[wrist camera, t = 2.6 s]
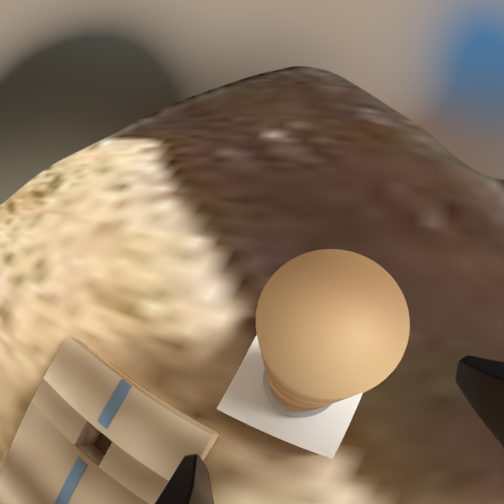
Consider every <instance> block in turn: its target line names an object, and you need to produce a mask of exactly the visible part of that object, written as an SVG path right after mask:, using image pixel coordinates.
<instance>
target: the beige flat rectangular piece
mask: <svg viewBox="0 0 504 504" xmlns="http://www.w3.org/2000/svg"><path fill="white" fill-rule="evenodd" d="M101 433H102V434H104V435H105V436H106V437H107V438H109V439H110V440H111V441H112V443H111V445H110V447H109V449H108V450H107V452H106V454H104V453H103V452H102V451H100V450H99V449H98V448H97V447H96V446H94V445H95V443H96V441H97V439H98V437H99V436H100V434H101ZM219 434H220V433H218V432H216V431H214V430H212V429H210V428H209V427H207V426H205V425H203V424H201V423H199V422H198V421H196V420H194V419H192V418H191V417H189V416H187V415H185V414H184V413H182V412H180V411H179V410H177V409H175V408H174V407H172V406H171V405H169V404H167V403H166V402H164V401H163V400H161V399H159V398H158V397H156V396H155V395H153V394H152V393H150V392H149V391H147V390H146V389H144V388H143V387H141V386H140V385H138V384H137V383H136V382H134V381H133V380H131V379H130V378H128V377H127V376H126V375H124V374H123V373H121V372H120V371H119V370H117V369H116V368H115V367H113V366H112V365H111V364H109V363H108V362H107V361H105V360H104V359H103V358H102V357H100V356H99V355H98V354H97V353H95V352H94V351H93V350H92V349H90V348H89V347H88V346H87V345H85V344H83V343H81V342H80V341H78V340H76V339H74V338H73V337H71V336H69V335H67V337H66V338H65V340H64V342H63V344H62V345H61V347H60V349H59V350H58V352H57V354H56V356H55V357H54V359H53V361H52V363H51V365H50V366H49V368H48V370H47V372H46V374H45V376H44V377H43V379H42V381H41V383H40V385H39V387H38V389H37V391H36V393H35V395H34V397H33V399H32V401H31V403H30V405H29V407H28V409H27V411H26V413H25V415H24V417H23V420H22V422H21V424H20V426H19V428H18V431H17V433H16V435H15V437H14V440H13V442H12V445H11V447H10V449H9V452H8V454H7V457H6V459H5V462H4V464H3V467H2V470H1V472H0V504H155V502H156V501H157V499H158V497H159V496H160V494H161V493H162V491H163V490H164V488H165V486H166V485H167V483H168V482H169V480H170V478H171V477H172V475H173V474H174V472H175V470H176V469H177V467H178V465H179V464H180V462H181V461H182V459H183V457H184V456H185V455H190V454H198V455H199V456H200V457H201V459H202V461H203V462H204V460H205V459H206V457H207V455H208V453H209V452H210V450H211V448H212V447H213V445H214V443H215V441H216V440H217V438H218V436H219Z"/></svg>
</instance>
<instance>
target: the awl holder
mask: <svg viewBox="0 0 504 504" xmlns="http://www.w3.org/2000/svg"><path fill="white" fill-rule="evenodd" d="M264 371H265V367H264V363H263V359H262V355H261V350H260V346H259V342H258V338H257V335H256V337H255V339H254V340H253V342H252V344H251V346H250V348H249V350H248V352H247V354H246V356H245V357H244V359H243V361H242V363H241V365H240V367H239V369H238V370H237V372H236V374H235V376H234V378H233V380H232V381H231V383H230V385H229V387H228V389H227V391H226V392H225V394H224V396H223V398H222V400H221V401H220V403H219V405H218V407H217V409H218V410H220V411H221V412H223V413H225V414H227V415H229V416H231V417H233V418H235V419H237V420H239V421H241V422H243V423H246V424H248V425H250V426H252V427H254V428H256V429H258V430H261V431H263V432H265V433H267V434H269V435H272V436H274V437H276V438H279V439H281V440H283V441H286V442H288V443H291V444H293V445H296V446H298V447H301V448H303V449H306V450H309V451H311V452H314V453H317V454H319V455H322V456H325V457H328V458H331V459H333V457H334V455H335V453H336V451H337V449H338V447H339V445H340V443H341V441H342V439H343V437H344V435H345V432H346V430H347V428H348V426H349V424H350V422H351V419H352V417H353V415H354V413H355V410H356V408H357V406H358V403H359V401H360V398H361V396H362V394H363V393H360V394H358V395H355V396H352V397H350V398H347V399H344V400H341V401H339V402H336V403H333V404H331V406H329V407H328V408H327V409H326V410H324V411H323V412H321V413H319V414H317V415H314V416H310V417H292V416H288V415H286V414H284V413H282V412H280V411H279V410H277V409H276V408H275V407H274V406H273V405H272V404H271V403H270V401H269V400H268V398H267V396H266V393H265V390H264V386H263V375H264Z"/></svg>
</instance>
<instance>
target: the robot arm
mask: <svg viewBox="0 0 504 504" xmlns="http://www.w3.org/2000/svg"><path fill="white" fill-rule="evenodd" d="M456 382H457V384H458V386H459V387H460V389H461V390H462V392H463V393H464V395H465V396H466V398H467V400H468V401H469V403H470V404H471V406H472V407H473V409H474V410H475V412H476V413H477V414H478V416H479V417H480V418H481V419H482V421H483V422H484V423H485V424H486V426H487V427H488V428H489V429H490V431H491V432H492V433H493V435H494V436H495V437H496V438H497V440H498V441H499V442H500V444H501V445H502V446H503V447H504V362H499V361H494V360H489V359H484V358H479V357H474V356H465V357H464V358H462V359H461V360H459V362H458V366H457V372H456ZM155 504H214V501H213V496H212V490H211V484H210V478H209V472H208V469H207V467H206V465H205V464H204V462H203V461H202V459H201V457H200V456H199V455H198V454H190V455H185V456H184V457H183V459H182V461H181V462H180V464H179V465H178V467H177V469H176V470H175V472H174V474H173V475H172V477H171V478H170V480H169V482H168V483H167V485H166V486H165V488H164V490H163V491H162V493H161V494H160V496H159V497H158V499H157V501H156V502H155Z"/></svg>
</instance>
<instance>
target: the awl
mask: <svg viewBox="0 0 504 504" xmlns="http://www.w3.org/2000/svg"><path fill="white" fill-rule="evenodd" d="M409 329H410V321H409V312H408V307H407V304H406V301H405V298H404V296H403V294H402V291H401V289H400V288H399V286H398V285H397V283H396V282H395V280H394V279H393V278H392V277H391V275H390V274H389V273H388V272H387V271H385V270H384V269H383V268H382V267H381V266H379V265H378V264H377V263H375V262H374V261H372V260H370V259H369V258H367V257H364V256H362V255H360V254H357V253H354V252H350V251H345V250H337V249H323V250H317V251H312V252H308V253H305V254H302V255H300V256H298V257H296V258H294V259H292V260H290V261H289V262H287V263H286V264H284V265H283V266H282V267H281V268H279V269H278V270H277V271H276V272H275V273H274V274H273V276H272V277H271V278H270V279H269V281H268V282H267V284H266V286H265V287H264V289H263V291H262V293H261V296H260V298H259V302H258V305H257V311H256V332H257V338H258V342H259V346H260V350H261V355H262V359H263V363H264V367H265V371H264V375H263V386H264V390H265V393H266V396H267V398H268V400H269V401H270V403H271V404H272V405H273V406H274V407H275V408H276V409H277V410H279V411H280V412H282V413H284V414H286V415H288V416H292V417H310V416H314V415H317V414H319V413H321V412H323V411H324V410H326V409H327V408H328V407H329V406H331V404H333V403H336V402H339V401H341V400H344V399H347V398H350V397H352V396H355V395H358V394H360V393H363V392H365V391H368V390H370V389H371V388H373V387H375V386H377V385H378V384H379V383H381V382H382V381H383V380H384V379H386V378H387V377H388V376H389V375H390V374H391V373H392V372H393V370H394V369H395V368H396V366H397V365H398V363H399V362H400V360H401V358H402V356H403V354H404V351H405V349H406V346H407V342H408V338H409Z"/></svg>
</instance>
